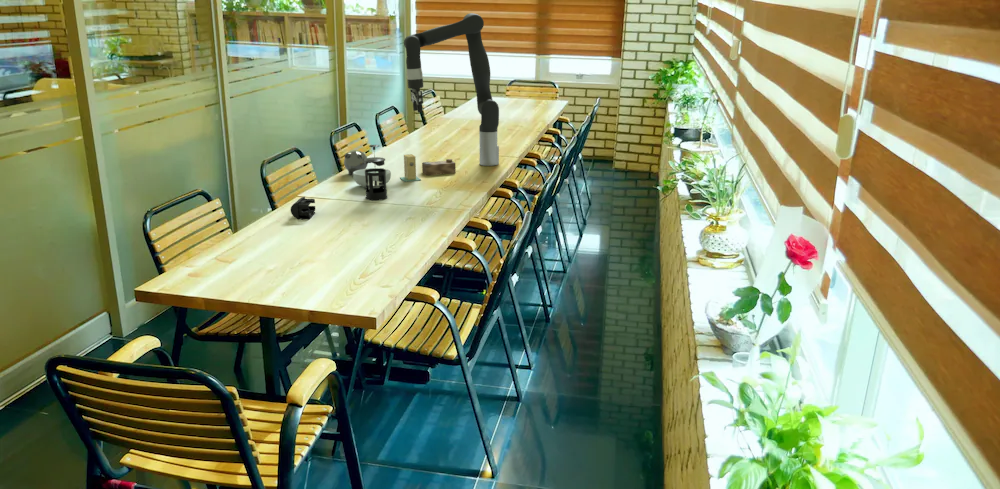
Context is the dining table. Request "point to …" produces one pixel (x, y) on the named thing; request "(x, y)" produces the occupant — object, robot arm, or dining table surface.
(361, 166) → the piggy bank
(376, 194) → the french press
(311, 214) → the end cap
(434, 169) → the body
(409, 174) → the brushed brass block
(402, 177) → the mat
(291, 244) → the dining table surface
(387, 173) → the cereal bowl
